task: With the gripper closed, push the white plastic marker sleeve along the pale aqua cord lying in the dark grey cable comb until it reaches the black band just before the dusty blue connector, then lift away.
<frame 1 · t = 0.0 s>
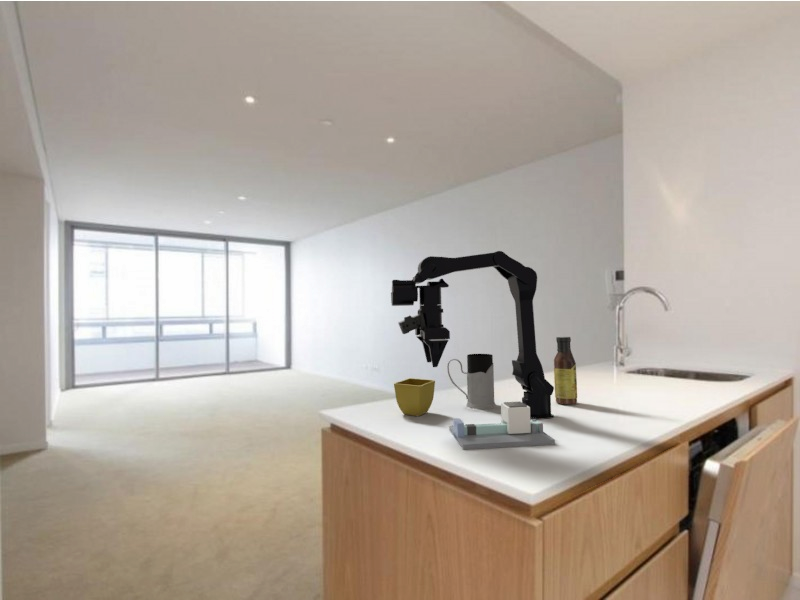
hand: (431, 364, 113), 15 cm above the worktop, fingers open, 9 cm apart
comb board: (498, 436, 98), on the worktop
sleeve: (515, 416, 98), point 4 cm above the worktop, slide at 0.0 cm
sauce bottle: (566, 403, 129), on the worktop
glass holder: (471, 405, 129), on the worktop
flower pot: (415, 414, 120), on the worktop
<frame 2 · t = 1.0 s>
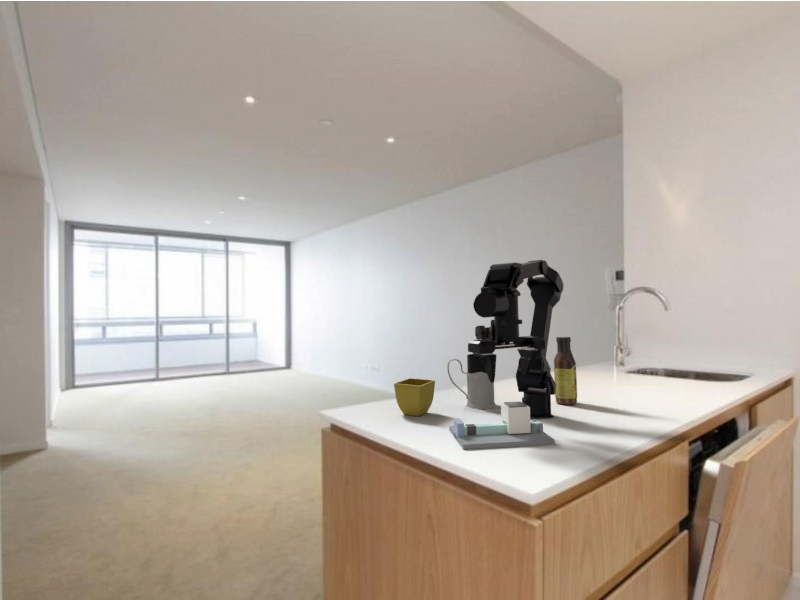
hand: (508, 380, 103), 12 cm above the worktop, fingers open, 9 cm apart
nothing on the worktop moved.
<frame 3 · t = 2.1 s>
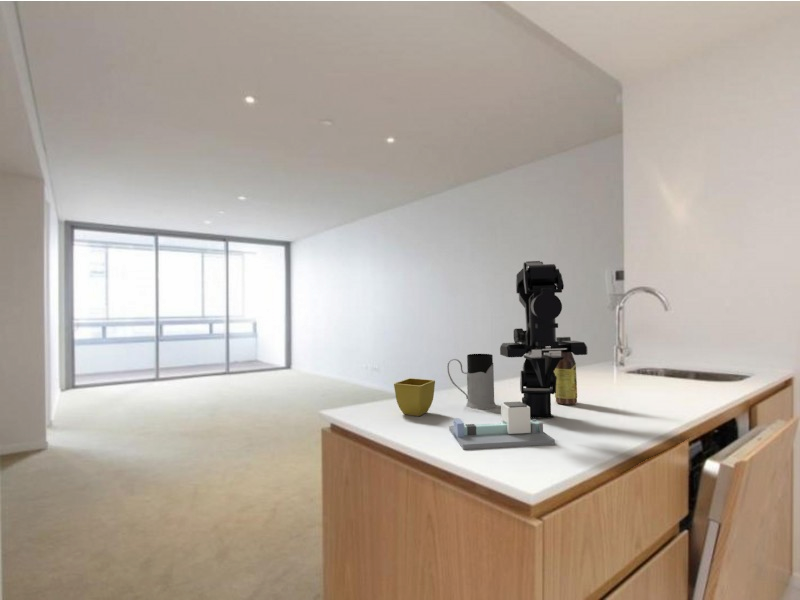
hand: (544, 386, 99), 11 cm above the worktop, fingers closed
nothing on the worktop moved.
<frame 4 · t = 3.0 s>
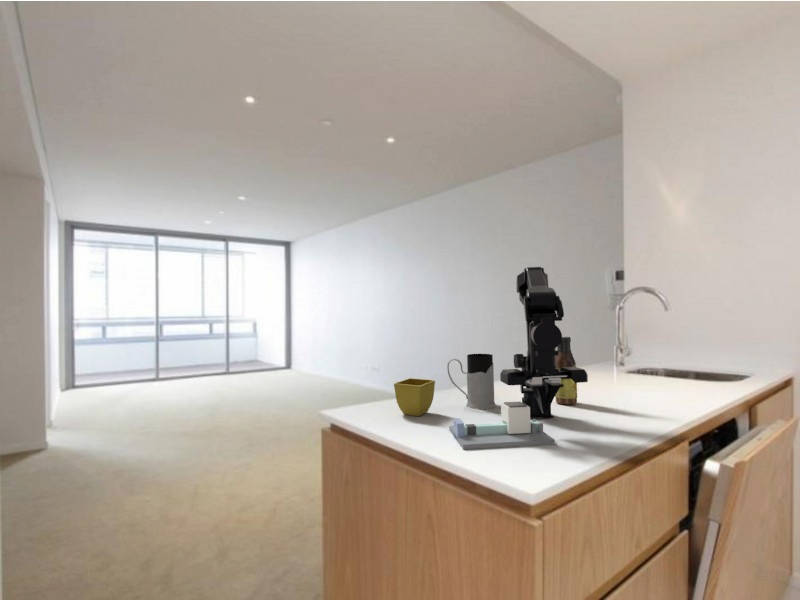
hand: (544, 413, 99), 5 cm above the worktop, fingers closed
nothing on the worktop moved.
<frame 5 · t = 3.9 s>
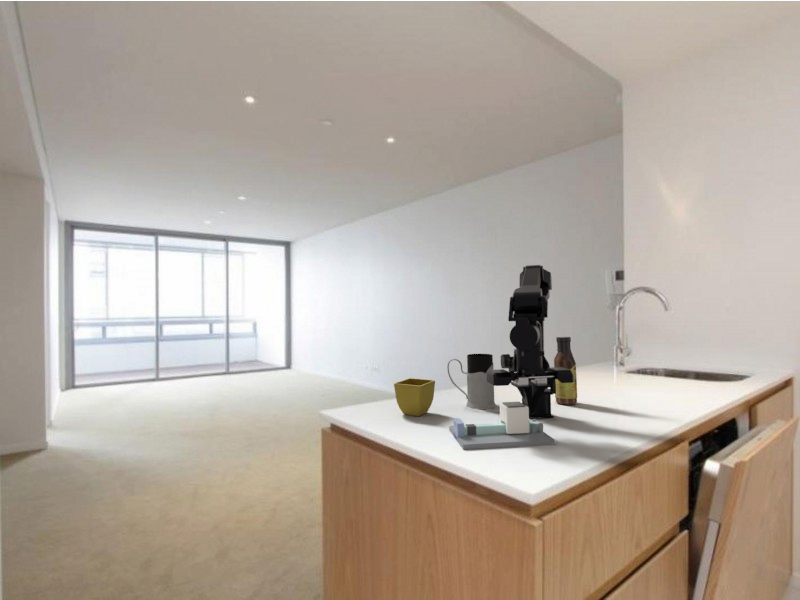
hand: (530, 413, 99), 5 cm above the worktop, fingers closed
sleeve: (514, 417, 98), point 4 cm above the worktop, slide at 0.3 cm, touching gripper
everything else where it was.
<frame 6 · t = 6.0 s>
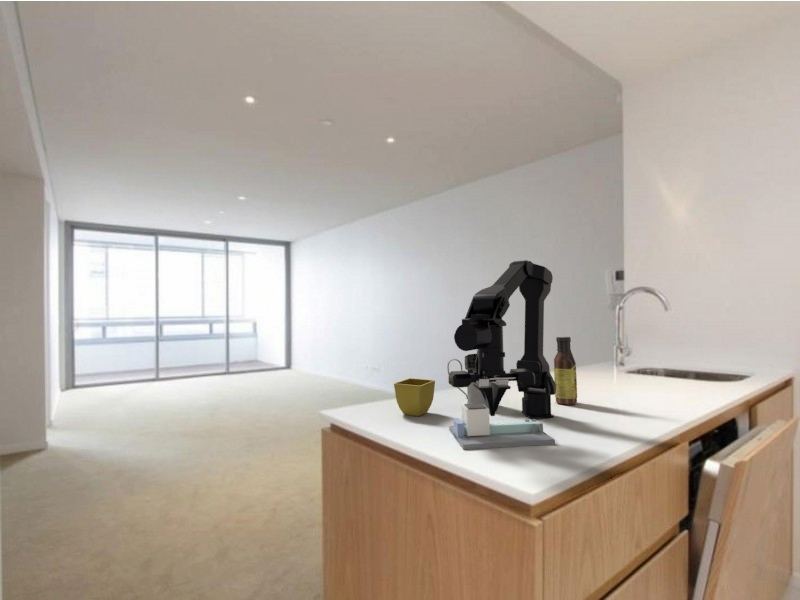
hand: (492, 415, 98), 5 cm above the worktop, fingers closed
sleeve: (475, 418, 97), point 4 cm above the worktop, slide at 9.4 cm, touching gripper
everything else where it was.
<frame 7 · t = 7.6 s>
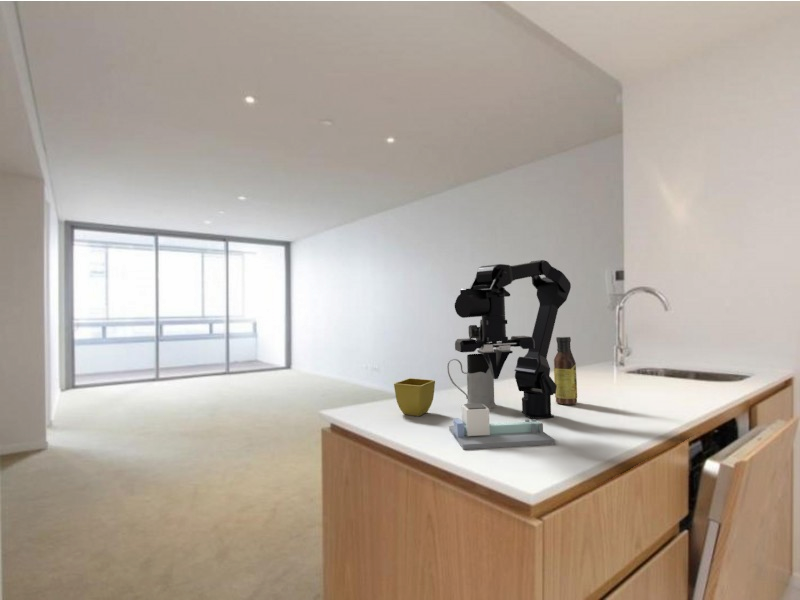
hand: (495, 378, 106), 12 cm above the worktop, fingers closed
sleeve: (475, 418, 97), point 4 cm above the worktop, slide at 9.4 cm
everything else where it was.
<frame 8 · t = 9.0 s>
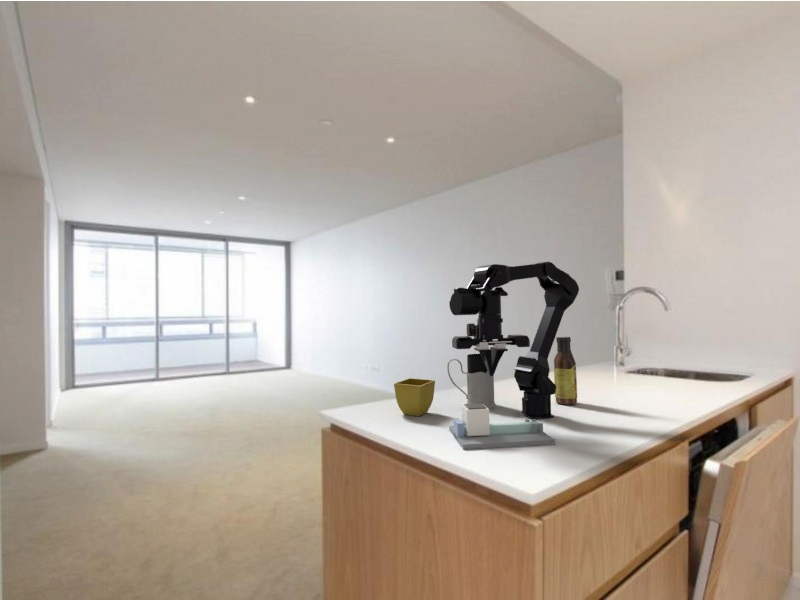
hand: (491, 375, 109), 12 cm above the worktop, fingers closed
nothing on the worktop moved.
at the end: sleeve slide at 9.4 cm; sleeve 1.2 cm from the target spot on the comb board, point 4.3 cm above the comb board's base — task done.
